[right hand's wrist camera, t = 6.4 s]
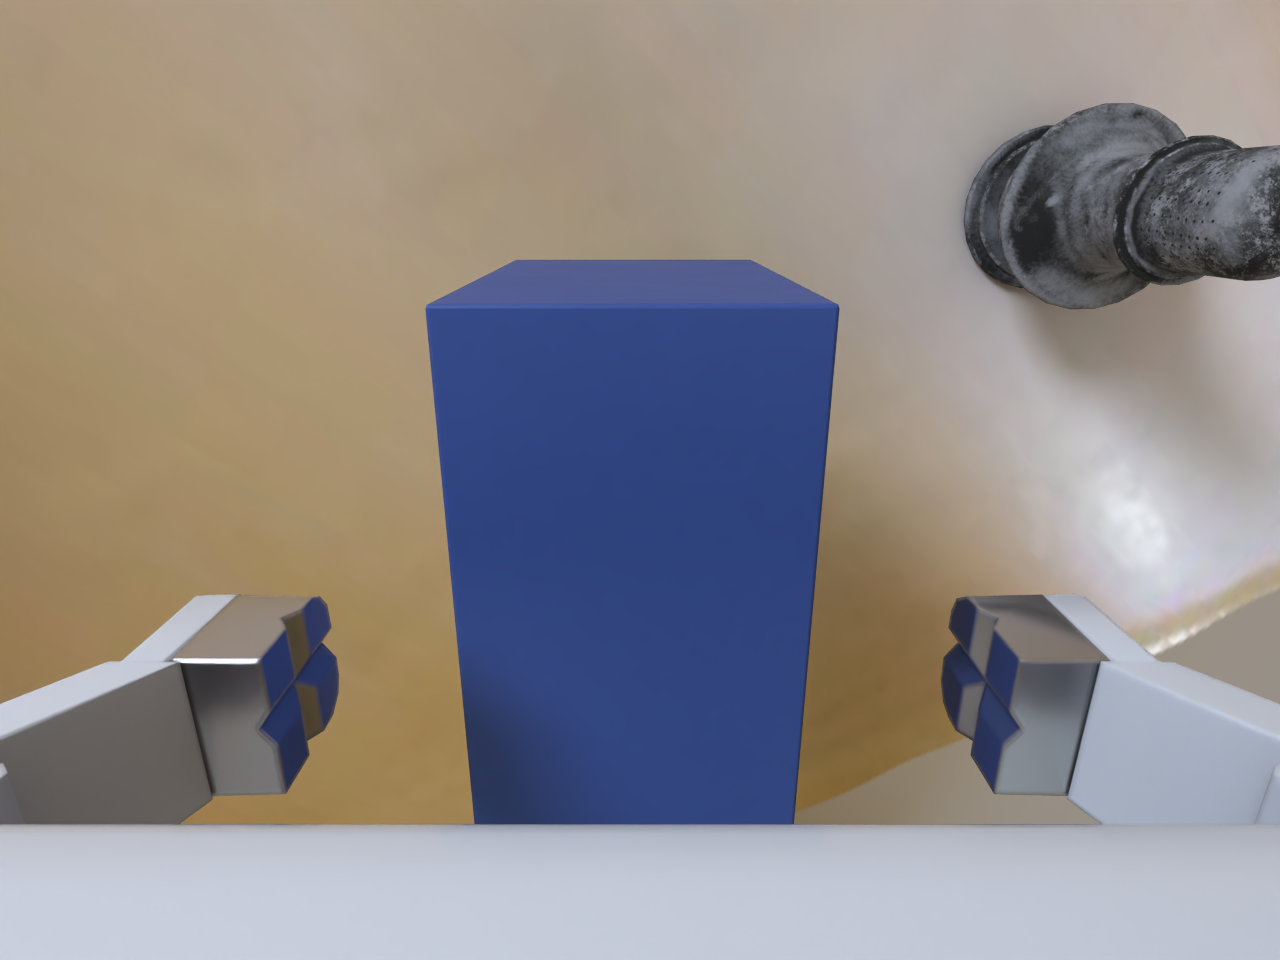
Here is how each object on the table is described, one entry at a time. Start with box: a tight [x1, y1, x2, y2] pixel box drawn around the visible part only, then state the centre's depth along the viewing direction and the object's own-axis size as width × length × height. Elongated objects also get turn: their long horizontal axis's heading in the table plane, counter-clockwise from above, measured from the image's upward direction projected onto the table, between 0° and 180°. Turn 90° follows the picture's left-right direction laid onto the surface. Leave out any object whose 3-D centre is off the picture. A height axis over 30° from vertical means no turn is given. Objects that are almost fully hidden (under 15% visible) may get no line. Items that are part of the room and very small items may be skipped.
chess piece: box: [964, 103, 1280, 309], centre depth 21 cm, size 6×6×12 cm
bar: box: [426, 260, 839, 824], centre depth 17 cm, size 22×5×8 cm, turn 0°
